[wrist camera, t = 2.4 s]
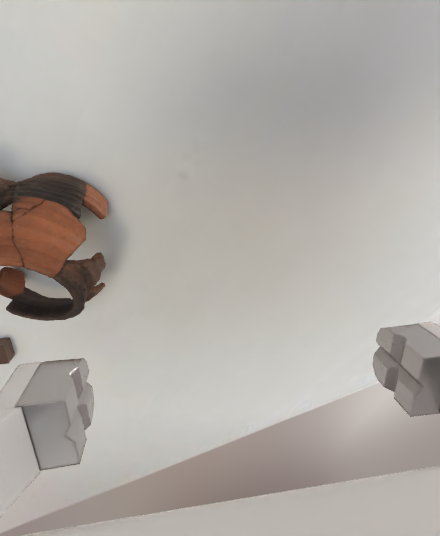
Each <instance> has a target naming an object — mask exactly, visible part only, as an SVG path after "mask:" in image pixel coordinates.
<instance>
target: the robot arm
mask: <svg viewBox="0 0 440 536" xmlns="http://www.w3.org/2000/svg"><path fill="white" fill-rule="evenodd" d="M376 341H377V343H378V345H379V346H380V348H379V349H378V350H377V351H376V352H375V354H374V358H373V368H374V372H375V375H376V377H377V379H378V381H379V382H380V383H381V384H382V385H383V386H384V387H385V388H387V389H389V390H391V391H393V392H394V399H395V400H396V401H397V402H398V403H399V404H400V405H401V407H402V408H403V409H404V410H405V411H406V412H407V413H408V414H409V415H410V416H421V415H430V414H439V413H440V326H439V325H438V324H436V323H433V322H424V323H417V324H412V325H404V326H396V327H387V328H381V329H380V330H379V332H378V334H377V339H376ZM88 374H89V369H88V365H87V361H86V360H85V359H84V358H82V359H70V360H58V361H46V362H35V363H26V364H21V365H19V366H18V367H17V368H16V370H15V371H14V372H13V374H12V375H11V377H10V378H9V380H8V381H7V383H6V384H5V386H4V387H3V389H2V390H1V392H0V518H1V516H2V515H3V514H4V513H5V512H6V511H7V510H8V509H9V507H10V506H11V505H12V504H13V503H14V502H15V501H16V500H17V498H18V497H19V496H20V495H21V494H22V493H23V492H24V491H25V489H26V488H27V487H28V486H29V485H30V484H31V483H32V482H33V481H34V479H35V478H36V477H37V476H38V475H39V474H40V471H41V470H47V469H52V468H58V467H64V466H70V465H76V464H80V461H81V457H82V454H83V450H84V447H85V443H86V435H85V429H86V428H88V427H89V426H90V425H91V421H92V417H93V409H94V396H93V389H92V386H91V385H90V384H89V383H87V382H86V380H87V377H88ZM20 536H440V466H435V467H429V468H423V469H417V470H411V471H405V472H399V473H393V474H387V475H381V476H375V477H368V478H363V479H357V480H350V481H344V482H338V483H333V484H326V485H320V486H315V487H309V488H302V489H296V490H290V491H284V492H279V493H272V494H266V495H260V496H255V497H249V498H242V499H236V500H231V501H224V502H219V503H212V504H206V505H201V506H195V507H188V508H182V509H176V510H171V511H164V512H159V513H152V514H146V515H140V516H134V517H128V518H122V519H116V520H111V521H104V522H98V523H92V524H86V525H80V526H74V527H68V528H62V529H57V530H50V531H44V532H39V533H32V534H26V535H20Z"/></svg>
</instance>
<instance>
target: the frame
mask: <svg viewBox="0 0 440 536" xmlns="http://www.w3.org/2000/svg"><path fill="white" fill-rule="evenodd" d="M13 357H14V352H13V348H12V345H11V342H10V338H5V339H0V364H7V363H9V362H10V361H11V359H12V358H13Z"/></svg>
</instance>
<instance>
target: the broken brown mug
mask: <svg viewBox="0 0 440 536" xmlns="http://www.w3.org/2000/svg"><path fill="white" fill-rule="evenodd" d="M11 203H12V208H11V209H12V211H11V212H9V211H5V210H2V209H4V208H5V207H7V206H8V205H10V204H11ZM82 205H84V206H85V207H86V208H88V209H89V210H90V211H92V212H93V213H94V214H95V215H96V216H97V217H98V218H99V219H104V218H105V217H106V216H107V206H108V202H107V200H106V199H105V198H104V197H103V195H102V194H100V193H99V192H98V191H97V190H96V189H94V188H93V187H91V186H90V185H88V184H86V183H85V182H83V181H81V180H79V179H77V178H74V177H72V176H69V175H64V174H60V173H46V174H40V175H36V176H34V177H32V178H29V179H26V180H23V181H20V182H17V183H16V182H14V181H9V180H5V179H3V178H0V266H14V267H24V268H26V269H29V270H33V271H36V272H38V273H41V274H43V275H46V276H48V277H50V278H53V279H55V280H56V281H57V282H58V283H60V284H61V285H62V286H64V287H65V288H66V289H67V290H68V291H69V292H70V294H71V296H72V297H73V299H72V300H71V299H70V298H48V297H45V296H42V295H40V294H38V293H36V292H34V291H32V290H30V289H28V288H26V287H25V276H24V273H23V272H21V271H18V270H16V269H13V268H9V267H4V268H3V269H1V270H0V295H2V296H5V297H7V298H10V299H12V302H11V303H10V304H9V305H8V306H7V307H6V310H7V311H9V312H10V313H12V314H15V315H18V316H22V317H25V318H30V319H37V320H46V321H48V320H66V319H68V318H72V317H75V316H77V315H78V314H80V313H81V311H82V310H83V309H84V304H85V302H86V301H89V300H90V299H91V298H93V297H94V296H95V295H97V294H98V293H99V292H100V291H101V290H102V289H103V288H104V287H105V284H104V283H100V284H99V285H97V286H95V285H96V284H97V282H98V281H99V279H100V276H101V272H102V270H103V269H104V268H105V260H104V257H103V255H102V253H100V252H99V253H96V254H95V255H94V256H93V257H92V258H91V259H84V260H78V261H76V260H67V259H68V258H69V257H70V256H71V255H72V254H73V252H74V251H75V250H76V249H77V248H78V247H79V246H80V245H81V244H82V243H83V242H84V241H85V240H86V230H85V227H84V225H83V224H82V223H81V222H80V221H79V220H78V219H79V218H80V216H81V208H82ZM94 286H95V287H94Z"/></svg>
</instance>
